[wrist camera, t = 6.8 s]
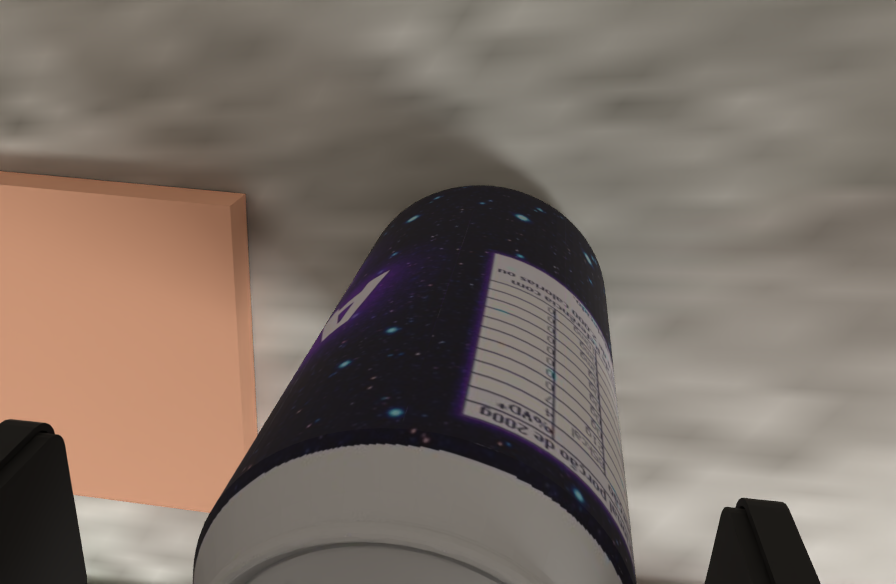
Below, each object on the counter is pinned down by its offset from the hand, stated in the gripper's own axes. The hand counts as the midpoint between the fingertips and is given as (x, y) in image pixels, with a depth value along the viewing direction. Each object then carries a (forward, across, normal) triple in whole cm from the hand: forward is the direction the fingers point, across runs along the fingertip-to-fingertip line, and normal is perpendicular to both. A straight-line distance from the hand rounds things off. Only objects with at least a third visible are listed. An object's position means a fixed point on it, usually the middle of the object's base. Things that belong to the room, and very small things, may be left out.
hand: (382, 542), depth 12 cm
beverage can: (+10, -1, 0) cm, 10 cm away
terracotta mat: (+10, +10, +3) cm, 14 cm away
